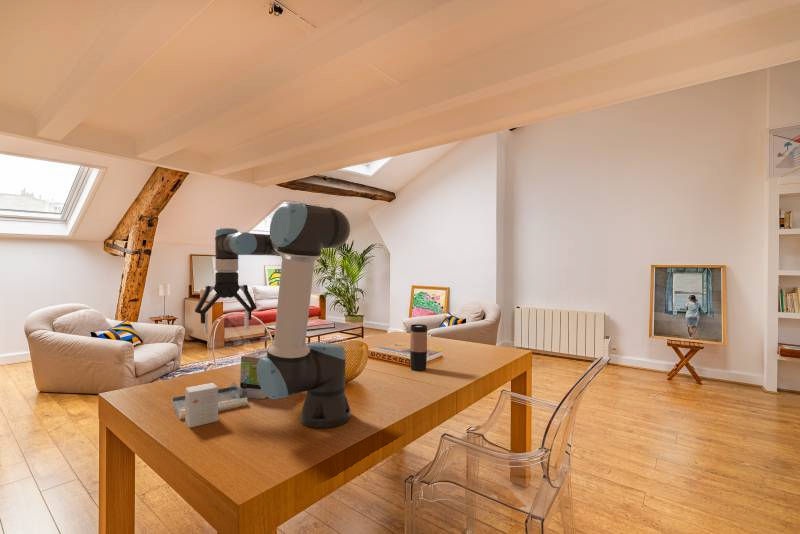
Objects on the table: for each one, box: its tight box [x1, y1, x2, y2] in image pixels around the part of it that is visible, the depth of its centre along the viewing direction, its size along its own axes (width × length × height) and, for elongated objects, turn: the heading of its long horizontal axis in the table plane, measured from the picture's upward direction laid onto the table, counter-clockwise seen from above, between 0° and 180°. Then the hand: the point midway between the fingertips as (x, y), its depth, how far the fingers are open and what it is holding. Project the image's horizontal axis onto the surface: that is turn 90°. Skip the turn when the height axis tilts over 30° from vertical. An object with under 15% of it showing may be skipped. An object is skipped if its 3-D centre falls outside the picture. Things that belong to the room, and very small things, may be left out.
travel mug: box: [409, 323, 428, 372], centre depth 176 cm, size 8×8×20 cm
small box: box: [184, 382, 219, 429], centre depth 116 cm, size 8×6×10 cm
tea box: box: [239, 347, 268, 400], centre depth 143 cm, size 15×10×15 cm, turn 168°
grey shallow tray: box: [171, 381, 248, 420], centre depth 129 cm, size 14×20×5 cm
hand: (226, 331), depth 138 cm, fingers open, 13 cm apart
